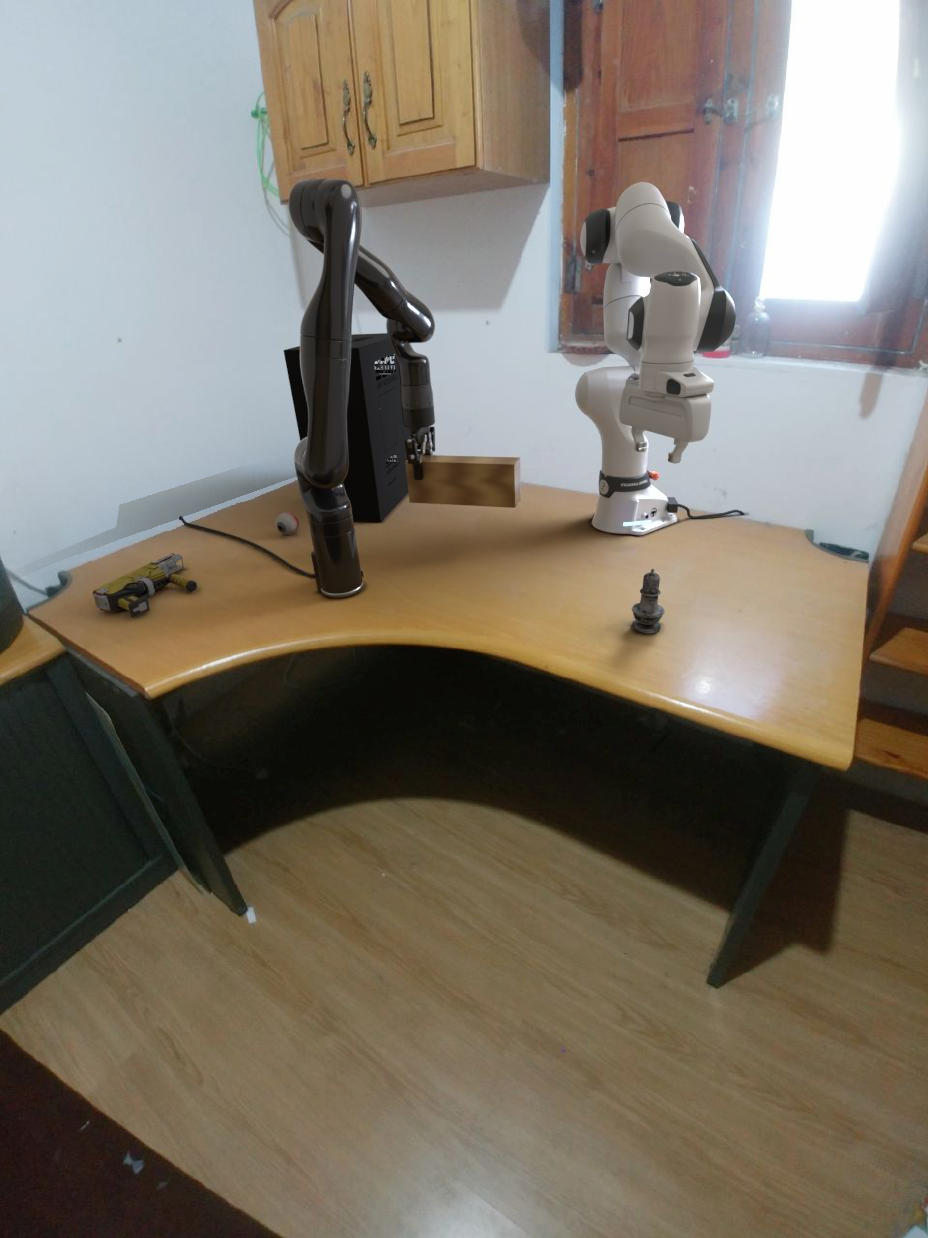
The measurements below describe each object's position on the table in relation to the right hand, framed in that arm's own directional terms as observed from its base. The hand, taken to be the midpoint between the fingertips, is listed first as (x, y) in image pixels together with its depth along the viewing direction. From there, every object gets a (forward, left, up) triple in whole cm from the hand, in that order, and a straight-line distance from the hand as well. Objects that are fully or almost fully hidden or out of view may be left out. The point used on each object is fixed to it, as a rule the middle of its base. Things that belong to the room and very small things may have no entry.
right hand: (656, 456), depth 113 cm
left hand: (+29, -49, -11) cm, 58 cm away
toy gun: (+93, -53, -28) cm, 111 cm away
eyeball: (+60, -73, -28) cm, 99 cm away
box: (+21, -42, -17) cm, 50 cm away
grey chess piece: (+9, +12, -28) cm, 32 cm away
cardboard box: (+32, -90, -28) cm, 99 cm away
